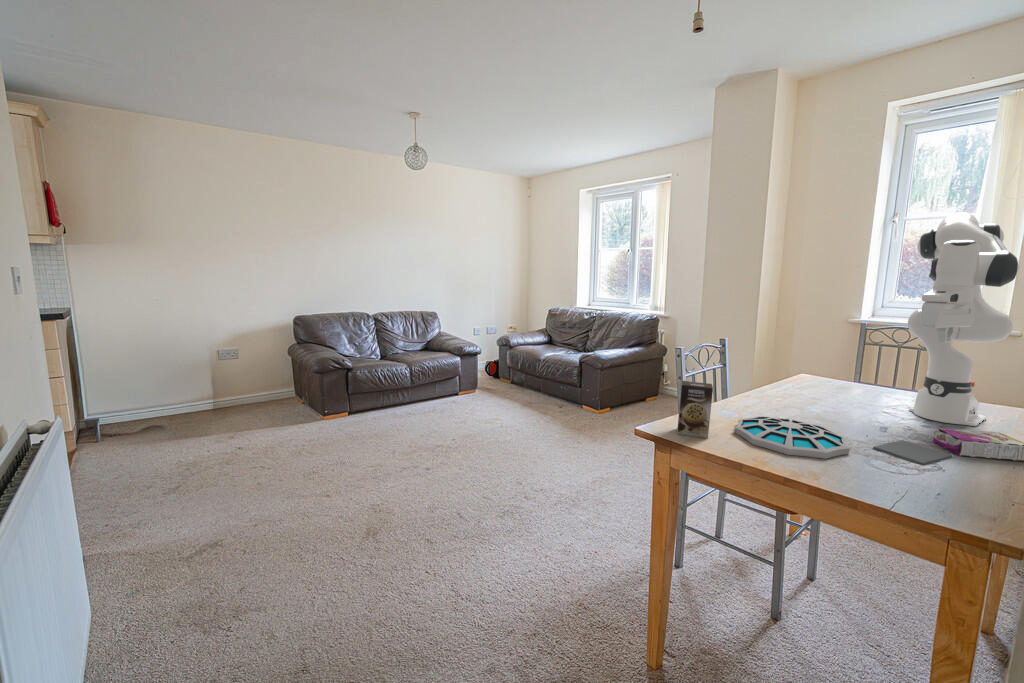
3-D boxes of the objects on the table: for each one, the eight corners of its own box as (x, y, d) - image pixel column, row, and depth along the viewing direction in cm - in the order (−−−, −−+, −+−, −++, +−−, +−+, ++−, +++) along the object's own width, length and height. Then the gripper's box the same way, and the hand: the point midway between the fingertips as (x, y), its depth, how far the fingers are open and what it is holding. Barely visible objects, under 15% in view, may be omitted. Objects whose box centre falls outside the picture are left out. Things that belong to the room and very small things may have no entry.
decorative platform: (875, 460, 125) (878, 443, 124) (775, 461, 123) (777, 443, 122) (799, 422, 155) (801, 408, 154) (717, 422, 153) (718, 408, 152)
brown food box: (677, 434, 141) (680, 384, 138) (677, 428, 147) (681, 379, 144) (708, 439, 138) (713, 387, 135) (707, 432, 144) (712, 382, 141)
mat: (902, 441, 138) (902, 439, 137) (952, 457, 127) (952, 455, 127) (872, 448, 132) (873, 446, 132) (922, 465, 121) (923, 463, 121)
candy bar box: (934, 426, 137) (999, 431, 134) (932, 442, 138) (996, 447, 135) (962, 439, 126) (1033, 445, 123) (959, 456, 127) (1029, 462, 124)
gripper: (958, 295, 139) (950, 339, 142) (918, 295, 132) (911, 341, 134) (985, 296, 134) (977, 342, 136) (945, 296, 126) (937, 345, 128)
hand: (944, 342), depth 135 cm, fingers closed
